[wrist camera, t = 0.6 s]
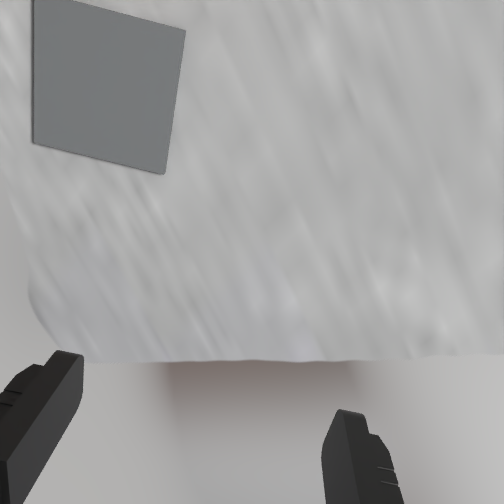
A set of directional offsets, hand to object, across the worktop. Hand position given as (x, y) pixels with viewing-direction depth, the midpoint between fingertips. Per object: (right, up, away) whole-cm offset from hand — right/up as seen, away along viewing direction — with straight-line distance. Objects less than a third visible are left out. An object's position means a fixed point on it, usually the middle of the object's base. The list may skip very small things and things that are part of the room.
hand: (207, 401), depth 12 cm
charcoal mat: (-11, +19, +22) cm, 31 cm away
